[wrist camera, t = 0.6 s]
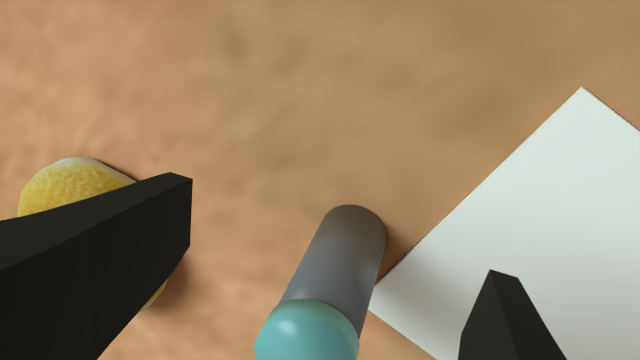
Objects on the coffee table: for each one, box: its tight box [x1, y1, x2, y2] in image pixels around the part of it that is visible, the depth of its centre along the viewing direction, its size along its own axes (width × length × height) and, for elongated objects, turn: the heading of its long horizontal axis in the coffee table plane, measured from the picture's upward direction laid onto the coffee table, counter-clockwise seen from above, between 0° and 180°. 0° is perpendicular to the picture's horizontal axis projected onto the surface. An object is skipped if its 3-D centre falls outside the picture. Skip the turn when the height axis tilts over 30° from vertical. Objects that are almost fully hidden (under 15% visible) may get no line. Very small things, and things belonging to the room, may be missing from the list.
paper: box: [368, 87, 640, 360], centre depth 21 cm, size 12×14×1 cm
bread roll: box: [18, 157, 168, 311], centre depth 26 cm, size 8×9×4 cm
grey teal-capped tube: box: [254, 205, 387, 360], centre depth 20 cm, size 3×3×8 cm
